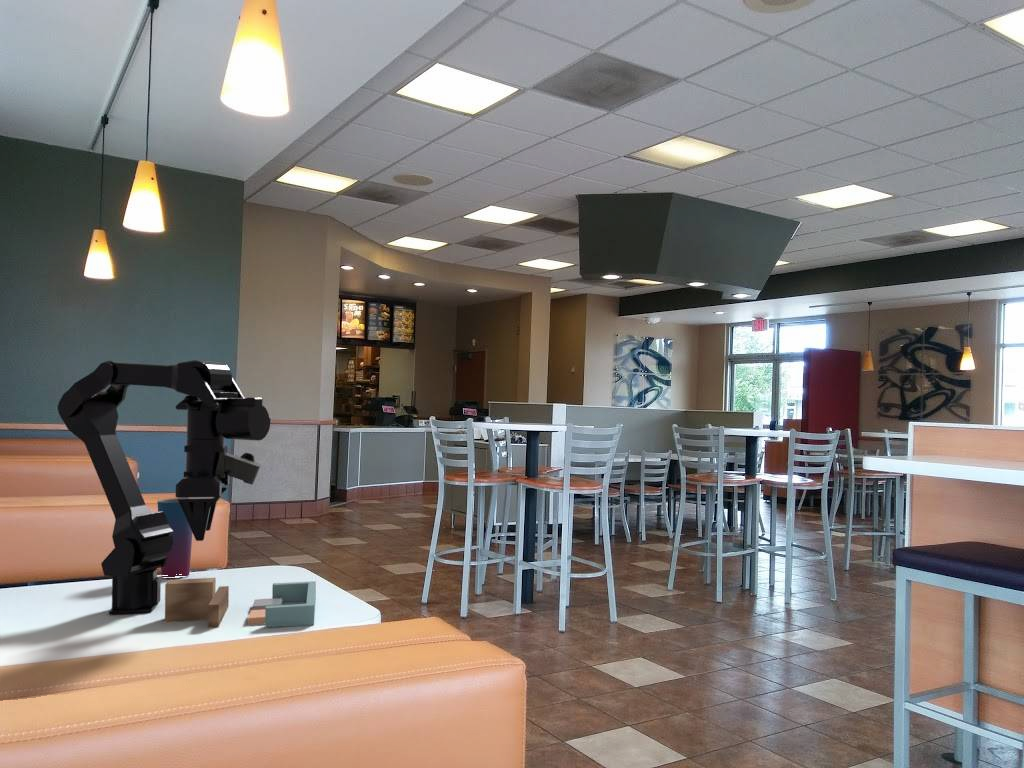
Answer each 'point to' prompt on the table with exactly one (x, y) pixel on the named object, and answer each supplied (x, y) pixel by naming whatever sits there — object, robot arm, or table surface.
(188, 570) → the cup
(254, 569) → the table surface
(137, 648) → the table surface
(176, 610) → the scraper
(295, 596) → the teal corner frame
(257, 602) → the tile slate
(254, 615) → the tile terracotta
